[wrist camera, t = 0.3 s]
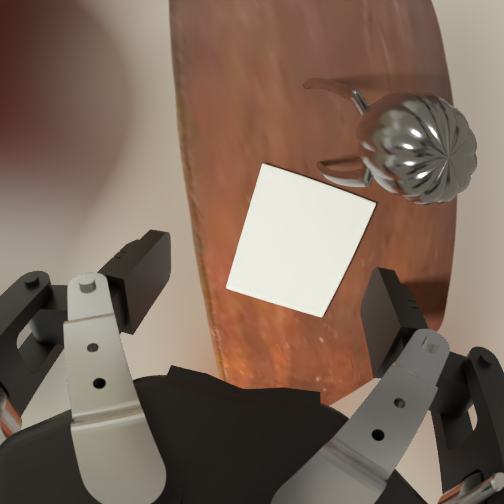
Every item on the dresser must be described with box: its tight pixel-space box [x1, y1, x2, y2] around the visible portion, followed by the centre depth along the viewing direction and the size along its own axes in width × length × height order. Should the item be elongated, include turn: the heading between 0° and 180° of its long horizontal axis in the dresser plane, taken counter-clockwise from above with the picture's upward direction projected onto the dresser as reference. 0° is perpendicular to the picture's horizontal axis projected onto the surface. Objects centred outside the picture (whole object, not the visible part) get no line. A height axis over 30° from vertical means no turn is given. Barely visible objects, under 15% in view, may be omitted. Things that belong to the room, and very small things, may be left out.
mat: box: [226, 163, 376, 317], centre depth 43 cm, size 20×16×1 cm
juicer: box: [303, 78, 477, 205], centre depth 21 cm, size 10×11×30 cm
